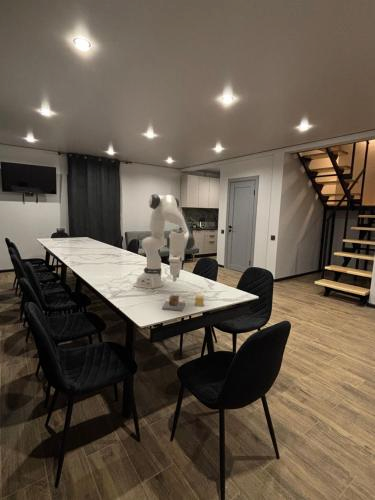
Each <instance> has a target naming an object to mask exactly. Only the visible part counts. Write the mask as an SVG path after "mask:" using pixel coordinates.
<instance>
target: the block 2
mask: <svg viewBox="0 0 375 500" xmlns="http://www.w3.org/2000/svg"><path fill="white" fill-rule="evenodd" d="M204 297H205V296H204V295H195V298H194V299H195V300H194V306H198V307H204Z"/></svg>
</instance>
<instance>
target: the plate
mask: <svg viewBox="0 0 375 500" xmlns="http://www.w3.org/2000/svg"><path fill="white" fill-rule="evenodd" d="M185 303H186V302H185V301H184V302H179V304H178V306H169V301H167V300H166V301H164V304H163V305H162V307H161V310H163V311H164V310H165V311H167V310H168V311H179V312H182V311H183V309H184V307H185Z"/></svg>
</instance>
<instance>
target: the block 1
mask: <svg viewBox="0 0 375 500" xmlns="http://www.w3.org/2000/svg"><path fill="white" fill-rule="evenodd" d="M168 299H169V306H178V304H179V299H180V296H179V295H172V294H171V295H170V296H169V298H168Z"/></svg>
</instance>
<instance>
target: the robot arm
mask: <svg viewBox="0 0 375 500" xmlns="http://www.w3.org/2000/svg"><path fill="white" fill-rule="evenodd" d="M148 204H149V205H148V206H149V208H151V210H152V211H151V214H150V216H151V217H150V223H149V229H150V233H151V234H150V236H147V237H145V238H143V239H142V240H141V248H142V249H143V250H144V253H145V257H146V266H145V267H144V268H143V273H141V274H140V275H139V276H138V277H137V278H136V282H134V283H133V287H135V288H141V289H142V288H143V289H150V290H151V289H155V288H161V287H162V286H163V281H162V258H161V256H160V254H159V250H161V249H163V248H166V249H169V256H168V257H169V258H168V262H169V274H170V276H172V281H173V282H174V283H175V282H176V281H177V279H179V278H180V272H181V270H182V268H183V261H184V260H185V250H186V251H190V250H192V249H193V248H194V246H195V242H196V241H195V237H194V235H193V234H192V231H191V228H190V226H189V224H188V222H187V219H186V217H185V215H184V214H182V213H181V211H179V207H180V201H179V199H178V198H176V197H175V196H174V195H172V194H165V195H163V194H158V193H157V194H152V195H150V197H149V200H148ZM166 221H167V222H168V223H172V224H174V225H176V226H178V227H180V228H181V229H177V228H176V229H175V228H174V229H172V230H170V233H169V234H167V235H166V237H165V223H166Z"/></svg>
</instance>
